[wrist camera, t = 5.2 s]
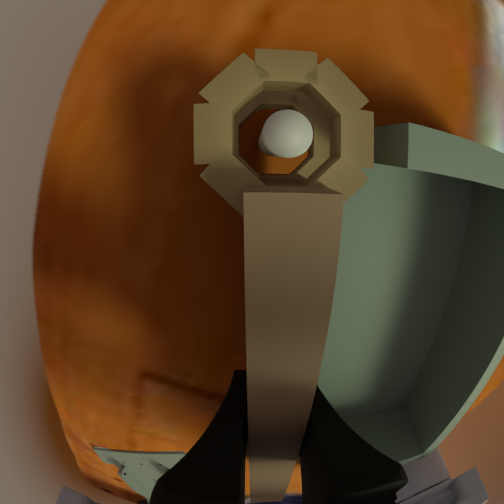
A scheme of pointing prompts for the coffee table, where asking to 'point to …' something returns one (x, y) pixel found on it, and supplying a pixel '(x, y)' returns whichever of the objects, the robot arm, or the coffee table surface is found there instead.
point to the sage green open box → (412, 284)
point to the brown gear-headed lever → (285, 235)
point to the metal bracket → (140, 466)
